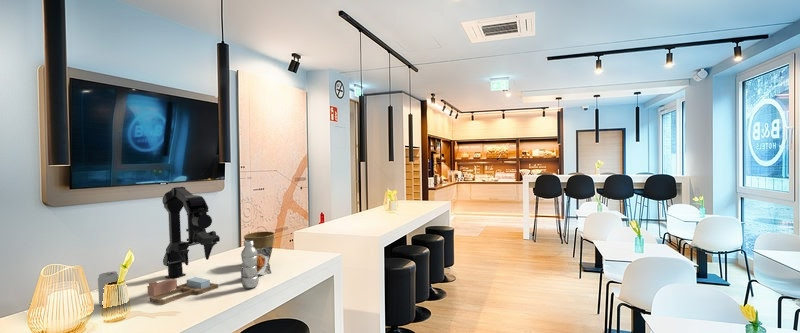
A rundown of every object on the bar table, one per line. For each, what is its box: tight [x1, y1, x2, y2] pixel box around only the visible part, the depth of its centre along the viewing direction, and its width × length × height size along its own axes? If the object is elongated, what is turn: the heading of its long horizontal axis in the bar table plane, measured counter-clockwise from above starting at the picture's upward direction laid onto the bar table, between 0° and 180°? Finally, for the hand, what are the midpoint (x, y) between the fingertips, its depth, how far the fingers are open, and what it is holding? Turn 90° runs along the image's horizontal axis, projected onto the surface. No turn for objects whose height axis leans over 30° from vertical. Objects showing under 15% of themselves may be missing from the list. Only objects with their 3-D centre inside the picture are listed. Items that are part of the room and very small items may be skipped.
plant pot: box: [243, 231, 275, 264], centre depth 195 cm, size 15×15×16 cm
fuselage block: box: [146, 278, 178, 297], centre depth 159 cm, size 4×10×6 cm, turn 157°
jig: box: [149, 282, 219, 305], centre depth 156 cm, size 15×22×2 cm
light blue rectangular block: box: [186, 276, 211, 289], centre depth 161 cm, size 10×4×4 cm, turn 62°
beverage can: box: [97, 271, 119, 306], centre depth 147 cm, size 6×6×12 cm
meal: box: [240, 247, 273, 282], centre depth 173 cm, size 15×4×13 cm, turn 152°
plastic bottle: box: [240, 240, 260, 289], centre depth 160 cm, size 6×7×20 cm
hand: (197, 262), depth 161 cm, fingers open, 9 cm apart
